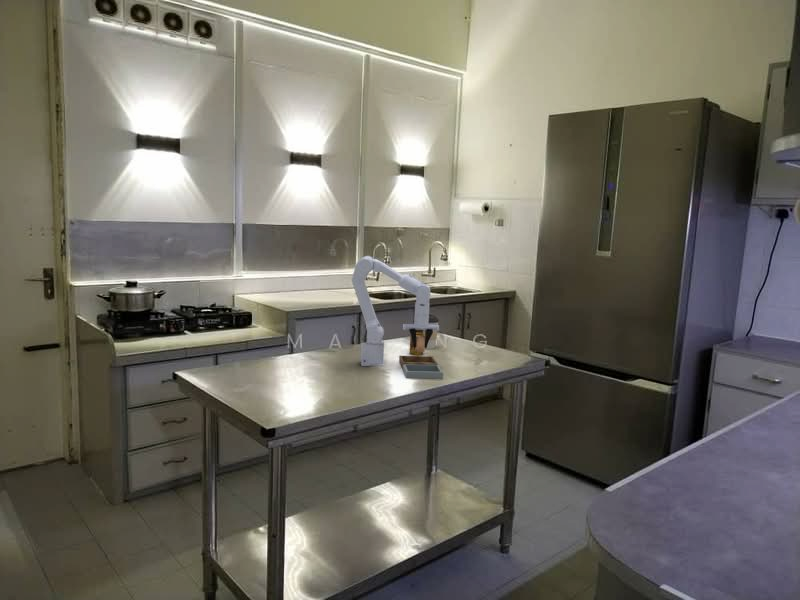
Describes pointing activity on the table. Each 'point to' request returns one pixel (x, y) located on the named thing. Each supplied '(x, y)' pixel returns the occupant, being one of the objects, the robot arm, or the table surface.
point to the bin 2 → (422, 371)
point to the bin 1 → (417, 360)
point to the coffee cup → (432, 340)
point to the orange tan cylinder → (420, 344)
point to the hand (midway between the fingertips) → (419, 347)
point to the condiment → (412, 349)
